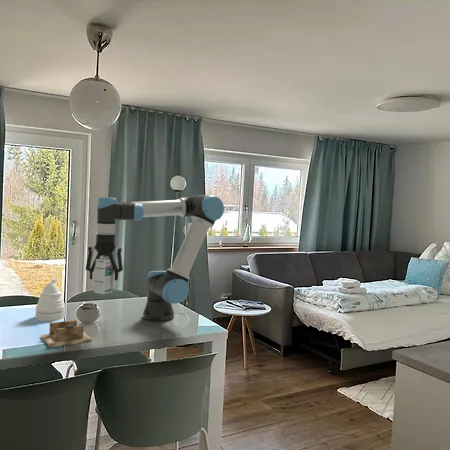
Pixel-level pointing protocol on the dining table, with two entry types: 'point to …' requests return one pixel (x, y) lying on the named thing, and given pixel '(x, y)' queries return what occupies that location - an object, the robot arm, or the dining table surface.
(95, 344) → the dining table surface
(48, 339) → the square wooden frame
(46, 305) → the honey pot
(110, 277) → the syrup box
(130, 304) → the dining table surface
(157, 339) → the dining table surface
